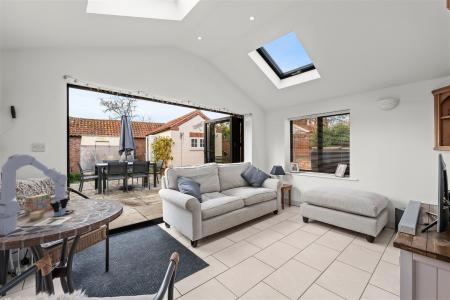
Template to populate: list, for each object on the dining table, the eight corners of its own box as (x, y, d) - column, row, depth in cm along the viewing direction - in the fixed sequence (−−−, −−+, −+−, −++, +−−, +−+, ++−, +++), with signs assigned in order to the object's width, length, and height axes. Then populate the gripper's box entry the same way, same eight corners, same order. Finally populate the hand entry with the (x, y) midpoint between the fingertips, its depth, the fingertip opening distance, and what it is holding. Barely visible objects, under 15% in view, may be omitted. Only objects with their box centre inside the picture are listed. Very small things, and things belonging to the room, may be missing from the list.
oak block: (38, 220, 123) (38, 213, 123) (29, 221, 122) (29, 213, 122) (44, 218, 128) (44, 210, 128) (35, 218, 127) (35, 211, 127)
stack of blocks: (55, 205, 156) (55, 190, 156) (62, 206, 155) (62, 191, 155) (25, 214, 135) (25, 197, 135) (32, 215, 134) (32, 197, 134)
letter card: (58, 225, 116) (58, 224, 116) (31, 227, 113) (31, 226, 113) (72, 217, 129) (72, 216, 129) (48, 218, 127) (48, 217, 127)
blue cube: (61, 216, 131) (61, 210, 131) (54, 216, 131) (54, 210, 131) (65, 214, 136) (65, 208, 136) (58, 214, 135) (58, 208, 135)
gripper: (59, 193, 127) (59, 213, 127) (72, 188, 141) (72, 207, 141) (47, 193, 125) (47, 214, 126) (61, 189, 140) (61, 207, 140)
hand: (60, 210), depth 133 cm, fingers open, 7 cm apart
